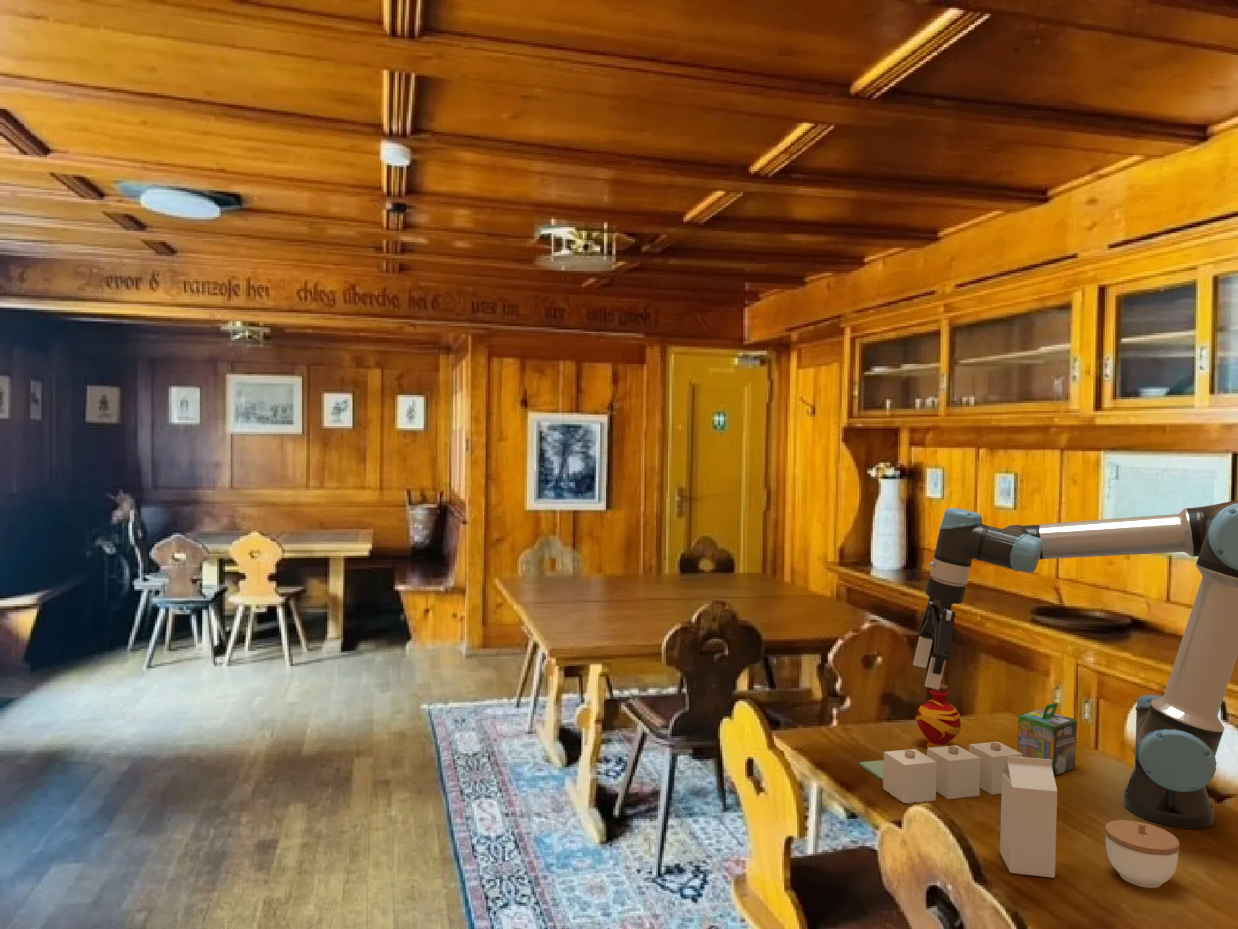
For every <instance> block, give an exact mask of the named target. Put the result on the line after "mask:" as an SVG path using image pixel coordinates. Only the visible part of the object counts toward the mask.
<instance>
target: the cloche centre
mask: <svg viewBox="0 0 1238 929" xmlns="http://www.w3.org/2000/svg"><path fill="white" fill-rule="evenodd" d="M926 756H927V757H929V758H931V759H933V760H934V761H936V762H937V770H936V793H939V794H940V795H941V796H943V797H945V798H946V799H947V800H952V799H962V798H971V797H980V793H981V792H980V789H981V788H980V757H978V756H976V755H974V754H972V753H970V752H969V750H967V749H964V748H963V747H962V746H960V745H947V746H944V747H933V748H928V747H927V748H926Z"/></svg>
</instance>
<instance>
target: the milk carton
mask: <svg viewBox="0 0 1238 929" xmlns="http://www.w3.org/2000/svg"><path fill="white" fill-rule="evenodd" d="M1000 795H1001V796H1000V797H1001V803H1000V837H999V838H1000V841H999V853H1000V855H1001V858H1002V859H1003V862H1004V863H1005V865H1006V867H1007V870H1008V871H1009V873H1011V874H1017V875H1026V876H1036V877H1045V878H1056V877H1055V876H1056V854H1057V853H1056V846H1057V816H1058V815H1057V813H1058V812H1057V808H1058V788H1057V784H1056V779H1055V776H1054V774H1053V770H1052V760H1050V759H1038V758H1026V757H1014V756H1007V763H1006V765H1005V767H1004V769H1003V770H1002V794H1000Z"/></svg>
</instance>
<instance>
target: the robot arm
mask: <svg viewBox="0 0 1238 929" xmlns="http://www.w3.org/2000/svg"><path fill="white" fill-rule="evenodd" d="M936 541H937V542H936V546H935V550H934V554H933V559H932V560H933V561H930V562H929V567H931V568H930V572H929V574H930V577H929V578H928V580H927V584H926V589H925V595H926V596H927V597H928V601H927V602H928V603H927V605H926V608H925V610H924V613H923V615H922V618H921V620H920V624H919V625H918V628H917V629H918V631H919V636H918V640H917V645H916V649H915V654H914V655H915V656H914V659H913V662H912V665H913V666H916V667H919V668H923V669H927V666H928V662H929V658H930V662H929V667H928V669H927V673H926V674H927V675H926V678H925V684H924V687H926V688H930V689H932V688H934V689H938V690H939V688H940V684H942V683H941V682H942V679H943V675H944V670H945V666H946V661H949V660H950V659H951V652H952V643H953V633H954V632H953V631H954V623H955V619H956V611H952V606H953V605H960V604H962V603H963V601H964V598H965V594H966V591H967V590H966V589H967V588H966V586H965V585H967V584H968V583H969V579H970V573H971V569H972V564H973V560H976V561H979V562H985V563H989V564H992V565H996V566H999V567H1002V568H1006V569H1011V570H1013V571H1016V572H1022V573H1028V574H1031V573H1035V572H1036V571H1037V567H1038V565H1039V561H1041V560H1052V559H1053V560H1054V559H1070V558H1071V559H1072V558H1073V559H1074V558H1090V557H1091V558H1092V557H1093V558H1094V557H1109V556H1110V557H1114V556H1130V555H1131V556H1133V555H1153V554H1170V553H1172V554H1173V553H1185V554H1187V555H1188V556H1190V557H1195V558H1196V557H1197V560H1196V564H1195V567H1196V568H1197V570H1198V571H1199V573H1200V574H1201V580H1200V584H1199V587H1198V589H1197V592H1196V595H1195V596H1196V597H1195V598H1194V602H1193V605H1192V608H1191V612H1190V614H1189V616H1188V621H1187V623H1186V625H1185V630H1184V632H1183V636H1182V639H1181V642H1180V643H1179V644H1180V645H1179V648H1178V650H1177V654H1176V658H1175V660H1174V663H1173V666H1172V669H1171V672H1170V676H1169V678H1168V681H1167V684H1166V688H1165V691H1164V694H1163V695H1158V694H1143V695H1140V696H1138V698H1137V700H1136V706H1135V711H1136V714H1135V716H1136V717H1135V720H1136V721H1135V747H1134V750H1135V752H1134V758H1135V759H1134V769H1133V771H1132V773H1131V776H1130V778H1129V780H1128V783H1127V786H1126V787H1125V790H1124V792H1123V805H1124V807H1125V808H1126V809H1128V811H1130V812H1131V813H1133V814H1135V815H1136V816H1138V817H1140V818H1142V819H1146V820H1149V821H1150V822H1154V823H1158V824H1161V825H1164V826H1165V825H1166V826H1170V827H1175V828H1182V829H1204V828H1209V827H1211V826H1212V825H1213V824H1214V818H1215V817H1214V807H1213V805H1212V804H1211V801H1210V797H1209V794H1208V792H1207V791H1208V790H1207V787H1206V786H1208V784H1209V783H1211V781H1212V780H1213V778H1214V776H1215V774H1216V771H1217V759H1216V755H1217V752H1218V749H1219V745H1220V742H1221V740H1222V737H1223V734H1224V731H1225V727H1224V725H1223V723H1222V722H1221V721H1220V719H1219V714H1220V713H1219V712H1220V710H1221V707H1222V703H1223V701H1224V698H1225V695H1226V692H1227V689H1228V686H1229V683H1230V680H1231V678H1232V673H1233V671H1234V668H1235V665H1236V662H1237V659H1238V500H1231V501H1227V502H1226V501H1225V502H1222V503H1217V504H1211V505H1205V506H1198V507H1187V508H1185V507H1184V508H1183V509H1182V510H1180V512H1179V513H1177V514H1176V513H1173V514H1163V515H1162V514H1161V515H1158V514H1157V515H1148V516H1133V517H1131V516H1130V517H1119V518H1106V519H1104V518H1103V519H1092V520H1081V521H1079V520H1078V521H1068V522H1067V521H1066V522H1065V521H1064V522H1054V523H1053V522H1052V523H1041V524H1040V523H1039V524H1027V525H1023V524H1022V525H1021V524H1013V525H1011V524H1010V525H1008V526H1006V527H1004V528H1001V527H1000V528H999V527H995V526H990V525H987V524H984V523H983V515H982V514H981V513H978V512H976V511H972V510H968V509H963V508H957V507H950V508H947V509H946V510H945V511H944V515H943V518H942V520H941V525H940V527H939V532H938V537H937V540H936ZM933 639H934V641H933ZM933 642H934V643H933ZM932 644H933V652H931V648H932Z"/></svg>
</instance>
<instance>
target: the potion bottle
mask: <svg viewBox="0 0 1238 929" xmlns="http://www.w3.org/2000/svg"><path fill="white" fill-rule="evenodd" d="M948 689H949V686H948V685H947V684H943V683H940V688H939V690H938V689H934V688H930V690H929V694H930V695H931V696H932V699H928V700H927V702H925V703H923V704H922V705H920V706H919V708H918V712H917V715H916V716H915V721H916V722H917V726H918V727H919V730H920V731H921V733H922V735H923V736H924V738H926V739H927V740H928V742H927V744H926V747H927V748H933V747H944V746H948V743H949V742H950V741H952V740H954V739H955V738H956V736H957V735H960V734H961V729H962V727H961V726H962V724H961V714H960V713H959V712H958V710H957V708H956V707H955V706H953V705H952V704H950V703H949V702H948V701H946V697H949V695H950V693H949V691H948Z"/></svg>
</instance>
